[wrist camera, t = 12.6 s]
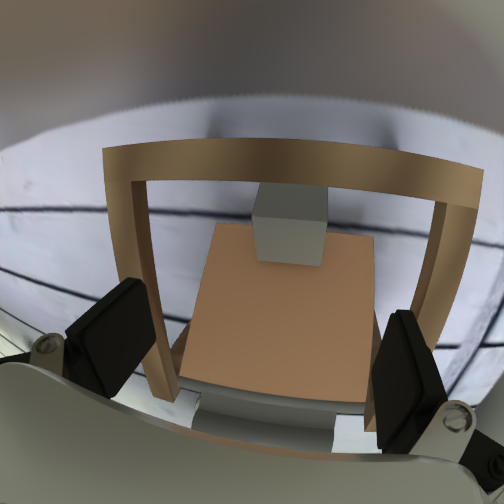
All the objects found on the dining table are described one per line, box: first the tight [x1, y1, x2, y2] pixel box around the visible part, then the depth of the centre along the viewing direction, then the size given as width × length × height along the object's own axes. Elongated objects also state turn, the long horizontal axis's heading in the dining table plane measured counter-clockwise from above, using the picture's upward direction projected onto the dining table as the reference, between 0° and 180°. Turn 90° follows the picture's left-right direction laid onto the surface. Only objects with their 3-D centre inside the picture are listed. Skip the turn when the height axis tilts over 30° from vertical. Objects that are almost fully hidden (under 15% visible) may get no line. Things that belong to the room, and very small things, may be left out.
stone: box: [251, 182, 328, 266], centre depth 22 cm, size 5×5×5 cm
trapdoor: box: [177, 223, 374, 453], centre depth 21 cm, size 14×18×2 cm
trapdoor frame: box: [102, 138, 484, 432], centre depth 23 cm, size 20×20×16 cm
